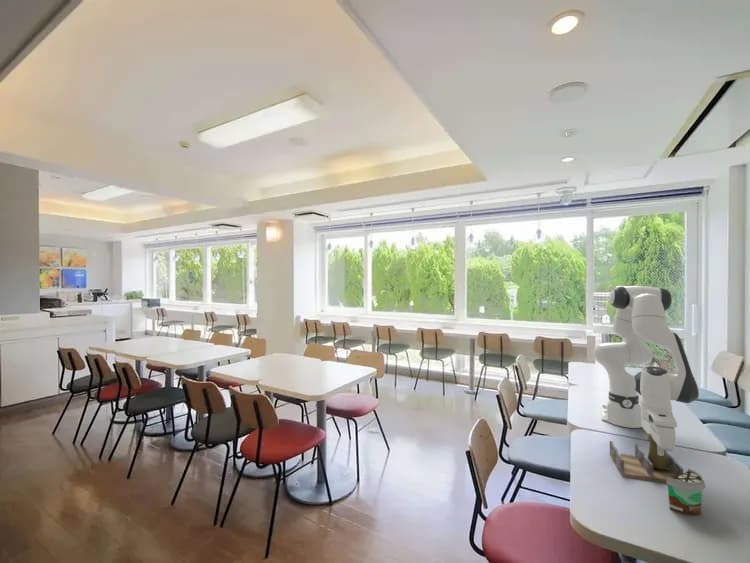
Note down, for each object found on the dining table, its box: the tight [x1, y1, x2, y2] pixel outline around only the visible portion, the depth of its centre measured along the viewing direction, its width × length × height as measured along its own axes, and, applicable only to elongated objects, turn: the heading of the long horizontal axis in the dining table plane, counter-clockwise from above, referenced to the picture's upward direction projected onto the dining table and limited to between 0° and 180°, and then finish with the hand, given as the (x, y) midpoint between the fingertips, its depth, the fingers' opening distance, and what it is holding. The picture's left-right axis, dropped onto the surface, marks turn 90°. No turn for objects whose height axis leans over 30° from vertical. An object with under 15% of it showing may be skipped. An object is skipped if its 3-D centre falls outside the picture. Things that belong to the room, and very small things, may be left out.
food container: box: [665, 467, 706, 517], centre depth 103 cm, size 12×6×10 cm, turn 114°
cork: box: [647, 433, 669, 469], centre depth 125 cm, size 6×6×11 cm
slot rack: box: [609, 440, 684, 484], centre depth 126 cm, size 16×17×6 cm
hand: (657, 451), depth 125 cm, fingers closed on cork, 4 cm apart
